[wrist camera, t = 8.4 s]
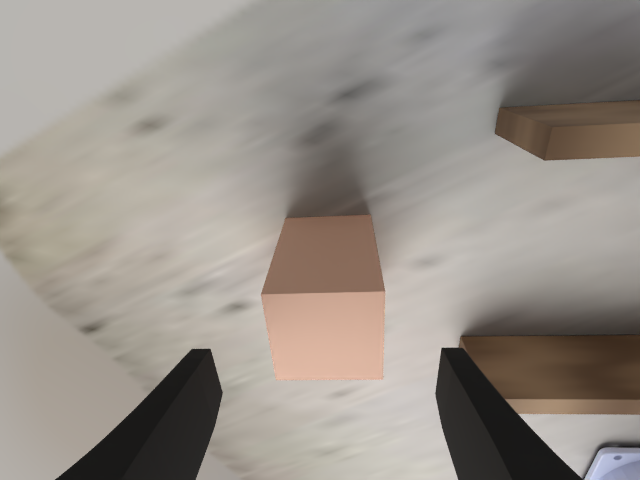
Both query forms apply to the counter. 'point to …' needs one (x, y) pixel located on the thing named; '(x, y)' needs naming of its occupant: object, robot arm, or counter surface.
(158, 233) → the counter surface
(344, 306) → the terracotta block
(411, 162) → the counter surface
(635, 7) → the counter surface
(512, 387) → the open-sided box
